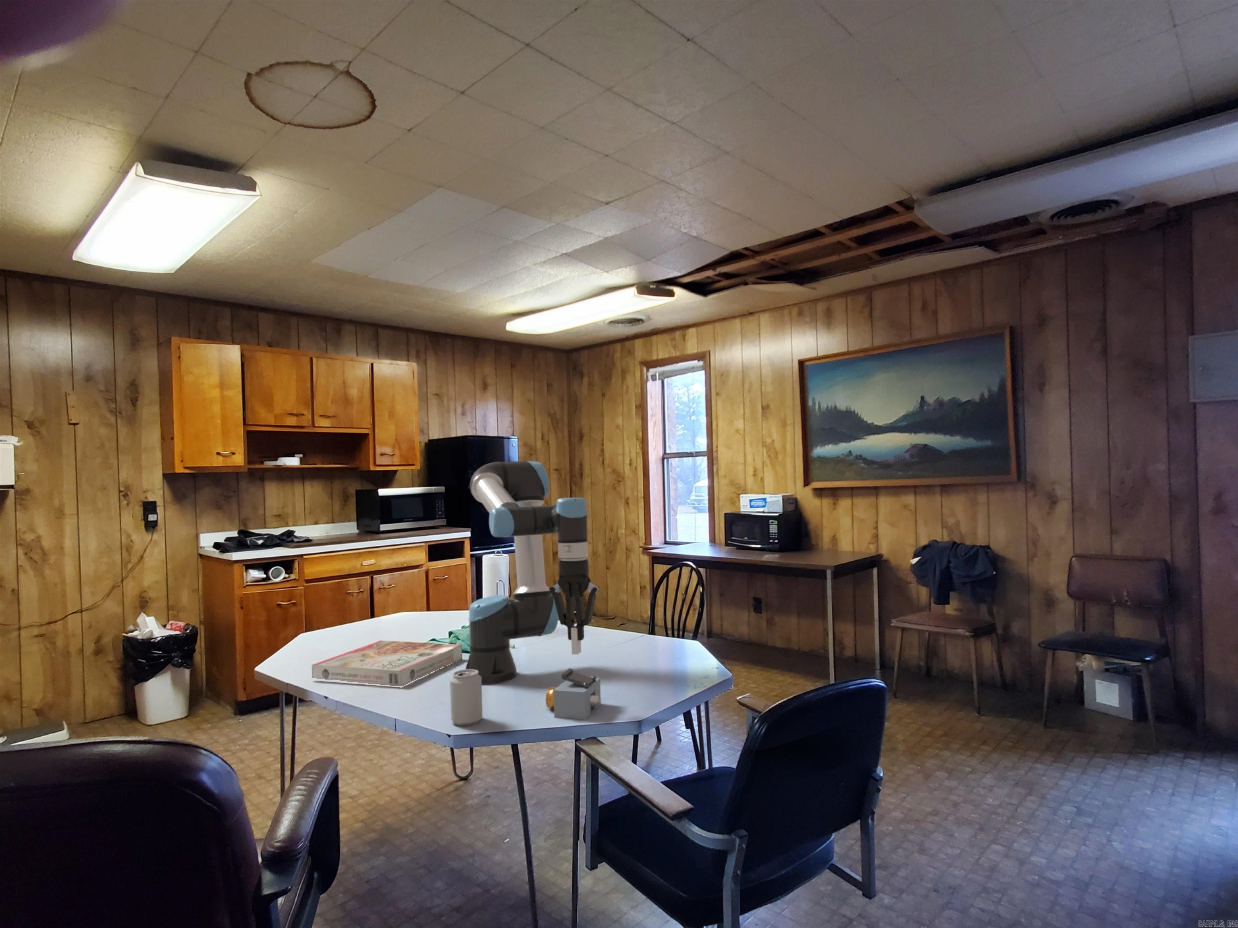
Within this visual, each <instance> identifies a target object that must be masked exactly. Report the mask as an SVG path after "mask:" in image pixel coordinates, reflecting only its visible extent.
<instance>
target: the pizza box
mask: <svg viewBox="0 0 1238 928" xmlns="http://www.w3.org/2000/svg"><path fill="white" fill-rule="evenodd" d="M460 659H462V660H463V644H452V643H450V644H449V643H434V642H414V641H400V640H399V641H396V640H378V641H376V642H373V643H370V644H367V645H365V646H361V647H358V648H356V649H353V650H350V651H348V652H345V653H341V654H338V655H336V656H333V657H331V658H327V659H324V660H322V661H319V662H317V663H314V664H311V679H312V678H317V679H325V680H340V681H347V682H358V683H368V684H380V685H390V686H404V685H406V684H408V683H410V682H412V681H414V680H416V679H418V678H421V677H423V676H425V675H427V674H430V673H431V672H433V671H436V670H438V669H440V668H442V667H445V666H447V665H449V664H451V663H454V662H456V661H458V662H459V660H460ZM460 661H461V660H460ZM456 663H457V662H456ZM454 664H455V663H454ZM449 666H450V665H449ZM447 667H448V666H447ZM445 668H446V667H445Z"/></svg>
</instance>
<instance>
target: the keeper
mask: <svg viewBox="0 0 1238 928" xmlns="http://www.w3.org/2000/svg"><path fill="white" fill-rule="evenodd" d="M596 678H597V676H595V675H592V676H588V675H585V674H581V673H579V672H576V671H574V669H573V668H570V667H569V668H568V669H567V670H565V671H564V672H562V675H561V678H560V679H561V680H563V681H569V682H572V683H576V684H579V685H582V686H583V687H584V688H588V686H589V685H590V684H592V683H593V682H595V681H596Z"/></svg>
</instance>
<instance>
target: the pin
mask: <svg viewBox="0 0 1238 928" xmlns="http://www.w3.org/2000/svg"><path fill="white" fill-rule="evenodd" d="M556 688H557V687H549V688H548V689H547V691H546V695H545V704H546V707H547V709H554V690H555V689H556ZM599 702H600V698H599V696H593V695H590V705H591V706H598V705H599ZM599 706H600V705H599ZM599 706H598V707H599Z"/></svg>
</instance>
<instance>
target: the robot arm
mask: <svg viewBox="0 0 1238 928" xmlns="http://www.w3.org/2000/svg"><path fill="white" fill-rule="evenodd" d="M469 489H470V493H471V495H472V496H473V498H474V499H475V500H476V501H477V502H479V503H482V505H483V506H484V508H485V509H486V511H487V512H488V513H489V515H488V516H489V517H488V525H489V531H490V533H491V535H492V536H493V537H494V538H510V537H511V538H514V539H513V540H514V553H515V554H514V555H515V570H516V581H517V588H516V589H515V591H514V592H513V594H512V595H513V597H512V598H513V599H510V598H509V597H508V595H503V594H501V595H493V596H492V595H491V596H486V597H483V598H480V599H477V600H475V601H473V602H472V603H470V606H469V608H468V609H469V610H468V622H469V623H468V624H469V628H468V629H469V655H468V658H467V659H468V660H467V662H466V665H465V669H474V670H477V671H479V673H478V674H479V675H480V676H481V683H482V685H490V684H492V685H493V684H498V683H499V684H500V683H503V682H507V681H508V682H509V681H510V680H513V679H514V678H516V676H517V665H516V662H515V660H514V657H513V655H512V651H511V649H510V648H511V647H510V645H511V644H510V642H511V641H510V640H515V639H516V640H517V639H524V638H533V637H542V636H546V635H547V636H548V635H550V634H553V633H554V632H555V631H556V628H557V625H558V623H559V624H560V625H562V626H566V629H567V638H568V641H571V654H572V655H579V654H580V653H582V641H583V640H584V638H585V626H588V625H590V624H591V622H592V618H593V614H594V613H593V612H594V607H595V602H596V597H597V595H598V592H599V591H600V589H601V588H600V586H599V585H595V584H594V583H592V582H591V578H590V577H589V576H590V575H589V574H590V573H589V571H590V570H589V569H590V568H589V560H588V559H587V558H588V557H589V544H588V543H589V542H588V510H587V501H586V499H585V498H583V497H563V498H561V497H560V498H558V499H557V501H556V504H551V505H543V504H544V503H545V498H548V496H549V494H550V493H549V492H550V480H549V476H548V472H547V470H546V468H545V467H544V465H543V463H541V462H539V461H530V460H524V461H493V462H490V463H487V464H484V465H482V466H481V467H479V468H478V469H477V470H476V471H474V473H473V475H472V476H471V478H470V482H469ZM554 534H555V535H557V556H558V559H560V560H559V561H558V579H557V583H556V584H554V585H553V586H550V587H549V586H548V585H547V584H546V570H545V561H544V546H543V535H554ZM561 590H562V592H563V593H564V596H565V597H564V600H565V603H564V601H563V596H562V593H561ZM587 590H588V596H587V601H586V607H585V605H584V598H585V593H586V592H587ZM565 607H566V608H565ZM584 607H585V608H584ZM584 609H585V610H584ZM575 615H576V616H575ZM575 618H576V619H575ZM575 620H576V621H575Z"/></svg>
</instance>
